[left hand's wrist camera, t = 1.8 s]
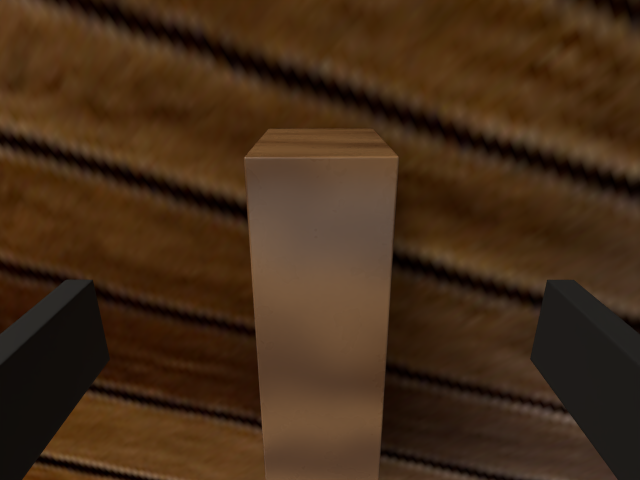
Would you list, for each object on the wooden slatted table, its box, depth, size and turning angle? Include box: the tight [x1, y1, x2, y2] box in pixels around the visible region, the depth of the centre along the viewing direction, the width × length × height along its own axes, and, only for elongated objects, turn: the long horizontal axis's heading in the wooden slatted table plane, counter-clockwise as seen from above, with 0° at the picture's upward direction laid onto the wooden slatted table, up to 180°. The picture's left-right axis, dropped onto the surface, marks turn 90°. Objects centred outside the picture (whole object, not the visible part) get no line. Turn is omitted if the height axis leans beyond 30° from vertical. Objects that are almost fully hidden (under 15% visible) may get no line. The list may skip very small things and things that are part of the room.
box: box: [244, 128, 399, 480], centre depth 26 cm, size 29×6×9 cm, turn 0°
